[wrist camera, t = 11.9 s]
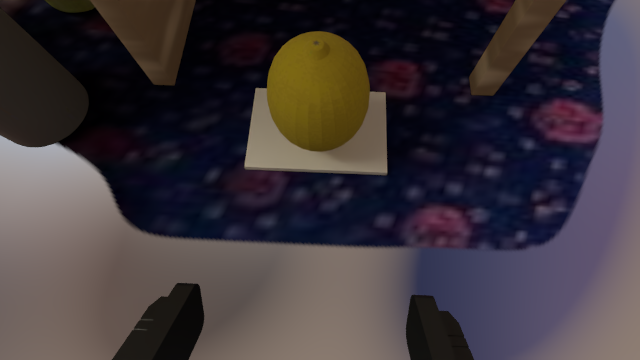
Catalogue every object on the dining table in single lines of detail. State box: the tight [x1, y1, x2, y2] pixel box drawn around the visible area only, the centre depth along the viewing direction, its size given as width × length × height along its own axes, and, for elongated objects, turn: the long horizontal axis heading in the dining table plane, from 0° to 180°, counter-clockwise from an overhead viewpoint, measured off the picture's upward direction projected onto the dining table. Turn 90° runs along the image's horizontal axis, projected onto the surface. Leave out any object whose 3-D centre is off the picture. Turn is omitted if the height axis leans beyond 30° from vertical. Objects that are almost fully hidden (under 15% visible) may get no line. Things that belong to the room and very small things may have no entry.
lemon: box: [267, 31, 370, 152], centre depth 19 cm, size 6×6×8 cm
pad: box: [244, 88, 387, 175], centre depth 23 cm, size 9×6×1 cm, turn 87°
